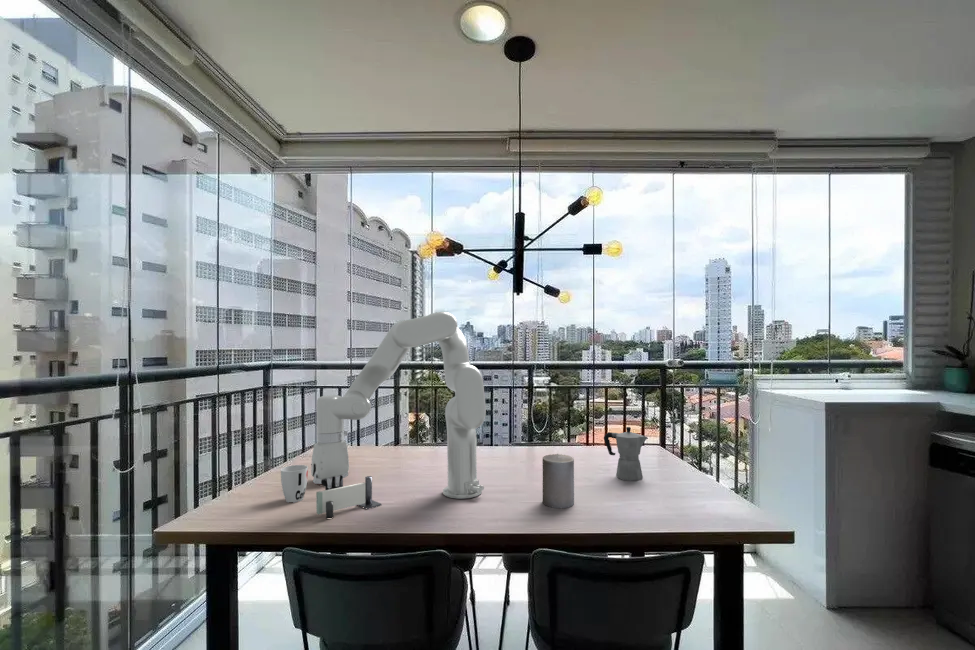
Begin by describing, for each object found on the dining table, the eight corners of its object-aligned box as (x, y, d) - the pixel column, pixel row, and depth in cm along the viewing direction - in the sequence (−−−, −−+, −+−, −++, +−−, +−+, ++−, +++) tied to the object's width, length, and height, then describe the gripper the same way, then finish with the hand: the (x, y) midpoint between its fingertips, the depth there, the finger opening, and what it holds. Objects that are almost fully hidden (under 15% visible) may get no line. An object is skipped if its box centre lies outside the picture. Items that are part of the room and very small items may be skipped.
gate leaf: (363, 502, 149) (363, 482, 149) (365, 503, 148) (365, 483, 148) (316, 513, 140) (316, 491, 140) (318, 514, 139) (318, 493, 139)
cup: (298, 505, 150) (298, 472, 150) (274, 503, 152) (275, 471, 152) (313, 496, 158) (313, 465, 158) (290, 495, 160) (290, 464, 160)
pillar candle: (537, 500, 152) (536, 451, 152) (564, 495, 156) (564, 448, 156) (552, 510, 143) (551, 459, 143) (581, 506, 147) (580, 455, 147)
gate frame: (381, 505, 149) (381, 477, 149) (329, 520, 137) (329, 490, 137) (343, 490, 164) (343, 464, 164) (294, 503, 152) (294, 475, 152)
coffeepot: (649, 475, 178) (648, 425, 178) (647, 482, 169) (646, 430, 169) (606, 471, 184) (605, 423, 184) (602, 478, 175) (601, 427, 175)
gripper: (346, 432, 153) (347, 491, 152) (300, 440, 142) (301, 504, 141) (359, 435, 147) (360, 496, 147) (312, 443, 137) (313, 510, 136)
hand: (331, 500), depth 144 cm, fingers closed
